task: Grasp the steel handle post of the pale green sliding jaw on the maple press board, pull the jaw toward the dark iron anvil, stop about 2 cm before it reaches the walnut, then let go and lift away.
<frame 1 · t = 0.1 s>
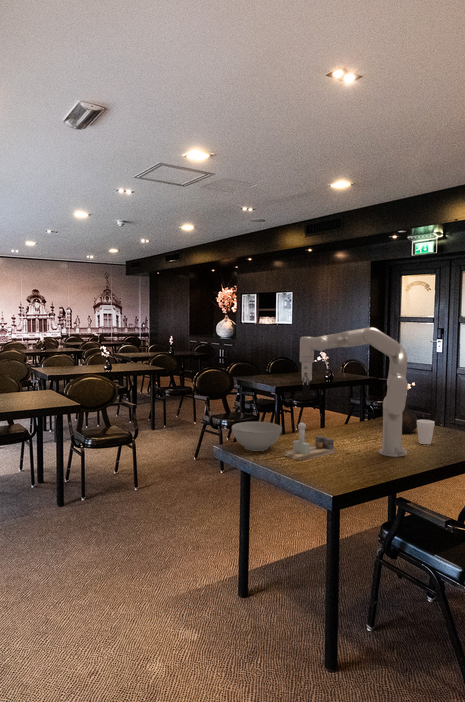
hand: (305, 391, 267), 31 cm above the table, tool pointing down, fingers open, 9 cm apart
dark brown vase: (402, 432, 312), on the table
walnut: (319, 448, 261), point 2 cm above the table, touching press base
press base: (309, 454, 256), on the table
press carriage: (301, 437, 252), point 10 cm above the table, slide at 0.0 cm
foam cup: (424, 444, 281), on the table
decorative bowl: (256, 449, 266), on the table
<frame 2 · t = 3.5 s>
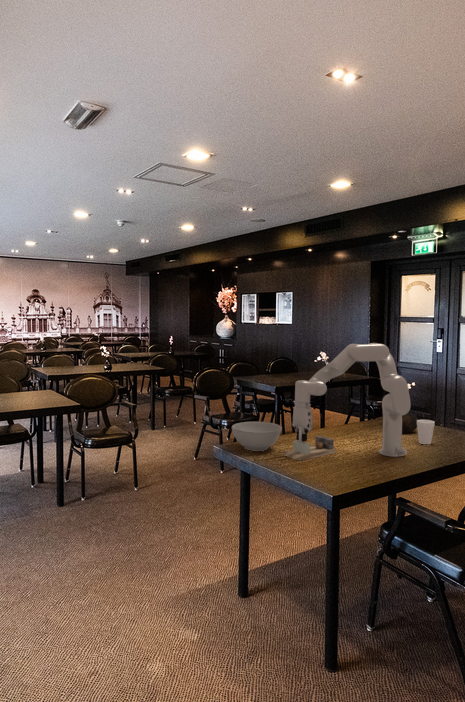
hand: (301, 440, 252), 8 cm above the table, tool pointing down, fingers closed on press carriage, 3 cm apart
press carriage: (301, 437, 252), point 10 cm above the table, slide at 0.0 cm, touching gripper
everything else where it was.
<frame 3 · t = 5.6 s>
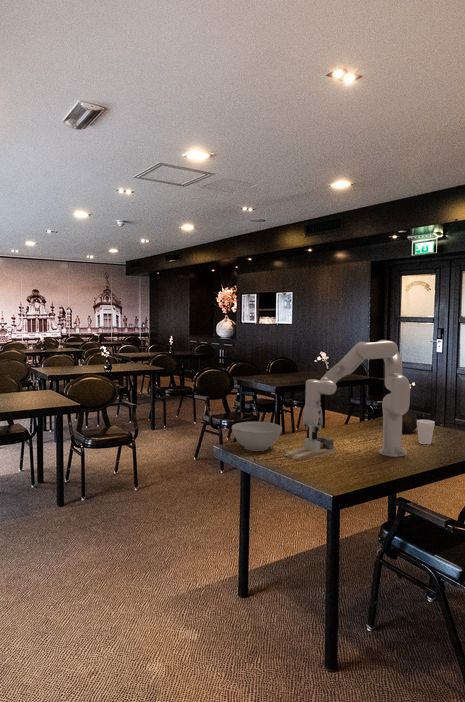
hand: (311, 438, 257), 8 cm above the table, tool pointing down, fingers closed on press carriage, 3 cm apart
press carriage: (311, 435, 257), point 10 cm above the table, slide at 7.4 cm, touching gripper
everything else where it was.
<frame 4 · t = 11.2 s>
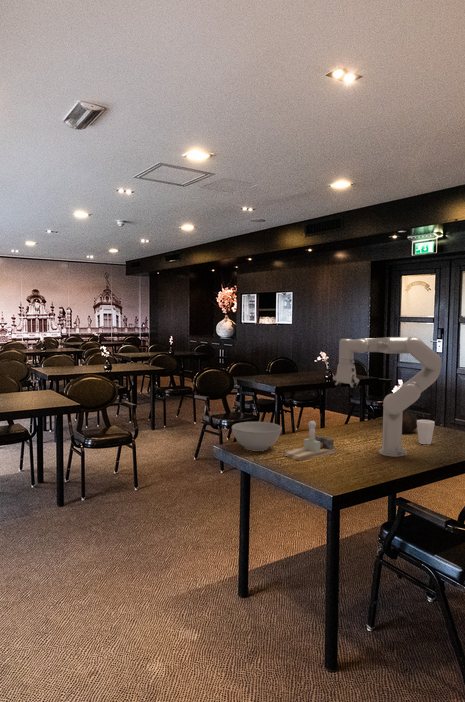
hand: (345, 393, 265), 30 cm above the table, tool pointing down, fingers open, 9 cm apart
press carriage: (312, 435, 257), point 10 cm above the table, slide at 7.5 cm
everything else where it was.
at the end: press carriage slide at 7.5 cm; walnut moved 0.0 cm from its start; the gripper is holding nothing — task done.
